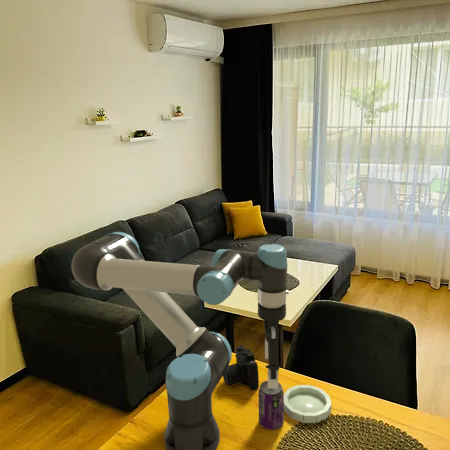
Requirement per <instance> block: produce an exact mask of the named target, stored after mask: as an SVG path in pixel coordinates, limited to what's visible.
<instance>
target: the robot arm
mask: <svg viewBox="0 0 450 450" xmlns="http://www.w3.org/2000/svg"><path fill="white" fill-rule="evenodd" d="M140 255H141V250H140V246H139V243H138V242H137V240H136V239H135V238H134V237H133V236H131V235H130V234H129V233H127V232H123V231H114V232H112V233H111V232H110V233H107V234H104V235H103V236H102V237H100V238H98V239H95V240H94V241H92V242H90V243H88V244H85V245H83V246H82V247H81V248H79V249H78V250H77V251H76V252H75V254H74V255H73V258H72V260H71V273H72V274H73V276H74V279H75V280H76V281H77V283H79V284H80V285H82V286H83V287H85V288H89V289H92V290H97V291H99V290H100V291H110V290H112V289H113V288H115V289H116V288H118V289H122V290H123V291H124V292H125V293H126V294H127V295H128V296H129V298H130V299H132V301H133V302H134V303H135V304H136V305H137V307H138V308H140V310H141V311H142V312H143V313H144V314H145V315H146V316H147V317H148V318H149V319H150V321H151V322H152V323H153V324H154V325H155V326H156V327H157V328H158V330H160V331H161V333H162V334H163V335H164V336H165V337H166V338H167V339H168V340H169V341H170V343H171V344H172V345H173V346H174V347H175V349H176V350H175V351H176V352H175V354H176V355H175V356H176V358H175V359H173V360H172V361H171V362H170V363H169V365H168V366H167V369H166V372H165V373H166V374H165V388H166V396H167V397H166V398H167V406H168V407H167V409H168V416H169V417H168V421H167V424H166V428H165V431H164V438H163V439H164V447H165V450H217V449H218V446H219V444H220V441H221V440H220V438H221V435H220V429H219V425H218V423H217V420H216V419H215V415H214V414H213V405H212V404H213V403H212V402H213V401H212V394H213V393H214V391H215V389H216V387H217V385H218V384H219V383H220V381H221V379H222V377H223V374H224V373H225V372H226V370H227V369H228V367H229V365H230V363H231V360H232V357H233V356H232V355H233V354H232V353H233V351H232V348H231V347H232V346H231V345H230V343H229V341H228V340H227V338H226V337H225V336H223V335H222V334H221V333H219V332H215V331H209V329H207V328H206V327H205V326H203V327H201V326H197V324H195V321H193V320H192V319H191V318H190V317H189V316H188V315H187V314H186V313H185V311H184V310H183V309H182V308H181V306H179V305H178V303H176V302H175V301H174V299H173V298H172V297H171V296H170V295H169V294H175V295H177V294H178V295H186V296H194V297H195V296H197V297H199V299H200V300H202V302H204V303H206V304H207V305H211V306H217V305H221V304H222V303H224V301H225V300H226V299H228V298H229V297H230V296H231V295H232V294H233V291H234V290H235V288H236V287H237V286H238V285H239V284H240V283H241V281H242V280H243V281H250V282H251V281H253V282H254V281H255V282H257V316H258V318H259V319H261V320H263V325H264V332H265V333H264V336H265V338H264V359H265V360H268V362H267V363H268V365H265V369H267V381H268V388H278V382H279V371H280V359H279V357H280V355H279V347H280V346H279V340H280V329H281V327H280V321H282V320H284V319H285V318H286V316H287V295H289V290H287V286H288V285H287V281H288V280H287V279H288V277H287V276H288V252H287V249H286V248H285V247H284V246H282V245H279V244H267V243H266V244H263V245H261V246H259V247H258V249H257V251H254V252H253V251H246V250H245V251H244V250H237V249H236V250H235V249H231V248H227V249H226V248H225V249H224V248H223V249H220V248H219V249H218V250H216V251H215V252H214V255H213V257H212V261H211V265H199V264H188V263H187V264H186V263H175V262H162V261H161V262H160V261H150V260H144V259H143V258H142V257H141V256H140Z"/></svg>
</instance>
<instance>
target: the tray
mask: <svg viewBox="0 0 450 450" xmlns="http://www.w3.org/2000/svg"><path fill="white" fill-rule="evenodd" d="M284 412H285V414H286V415H288V416H289V418H291V420H293V421H294V420H295V421H297V422H299V423H302V424H317V423H320V422H321V420H322V421H325V420H327V419H328V417H329V415H330V414H331V412H332V401H331V396H330V395H329V394H328V393H327V392H326V391H325V390H323V389H322V388H320V387H317V386H315V385H314V386H313V385H311V384H297V385H294V386H292V387H289V388H287V389H286V391H285V392H284ZM324 419H325V420H324ZM316 422H317V423H316Z"/></svg>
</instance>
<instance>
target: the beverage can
mask: <svg viewBox="0 0 450 450" xmlns="http://www.w3.org/2000/svg"><path fill="white" fill-rule="evenodd" d="M284 393H285V392H284V390H283V385H282V384H281V383H280V382H279V381H278V388H268V380H265V381H262V382H261V384H259V388H258V422H259V424H260V426H262V428H265V429H267V430H278V429H280V428H282V426H283V425H284V424H285V423H284V422H285V420H284V419H285V415H284V414H285V413H284V412H285V411H284Z"/></svg>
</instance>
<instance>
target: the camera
mask: <svg viewBox="0 0 450 450" xmlns="http://www.w3.org/2000/svg"><path fill="white" fill-rule="evenodd" d="M234 357H235V358H236V359H235V361H236V362H235V363H232V364H229V367H228V369H227V370H226V372H225V373H224V374H223V376H222V377H223V382H224V384H225V385H226V386H227V387H230V386H231V387H232V386H236V385H239V384H241V385H242V386H244V387H248V388H249V390H250V391H251V392H252V391H253V392H254V391H258V390H259V389H260V383H259V380H260V379H259V365H258V362H257V361H256V358H255V354H254V353H253V352H252V351H251V350H250V349H249V348H246V346H245V345H242V344H241V345H238V346H236V347H235V355H234Z"/></svg>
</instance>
